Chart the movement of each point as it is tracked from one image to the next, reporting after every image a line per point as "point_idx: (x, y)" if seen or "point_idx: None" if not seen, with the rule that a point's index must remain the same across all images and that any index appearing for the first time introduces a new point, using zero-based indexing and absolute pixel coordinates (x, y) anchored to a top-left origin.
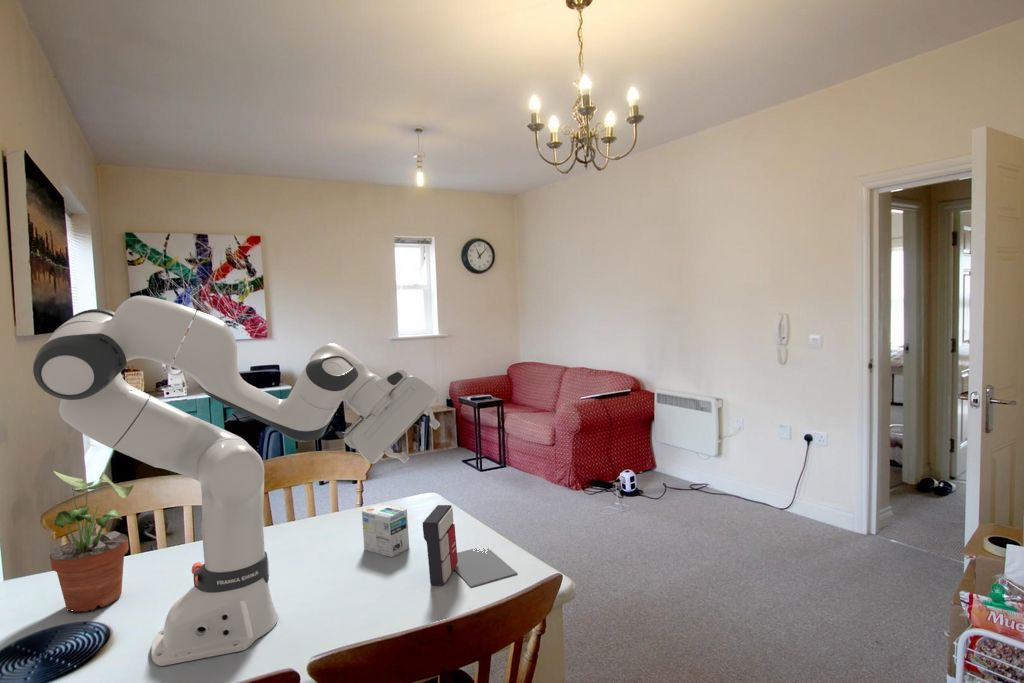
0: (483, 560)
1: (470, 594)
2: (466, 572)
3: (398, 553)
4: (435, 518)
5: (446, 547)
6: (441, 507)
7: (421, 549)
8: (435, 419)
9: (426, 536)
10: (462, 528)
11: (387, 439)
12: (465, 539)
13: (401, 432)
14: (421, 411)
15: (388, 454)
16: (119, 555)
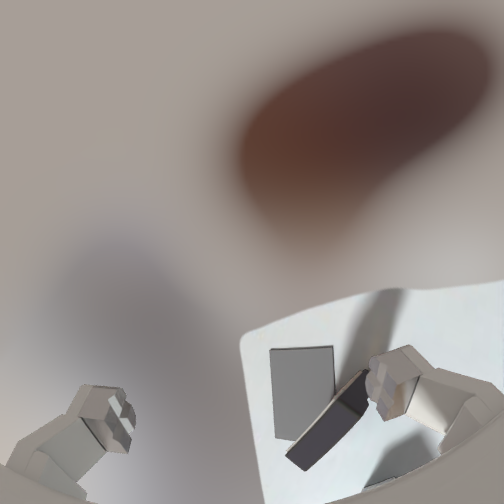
0: (292, 404)
1: (338, 329)
2: (324, 386)
3: (383, 481)
4: (332, 419)
5: (337, 393)
6: (303, 457)
7: (350, 478)
8: (71, 405)
9: (364, 402)
10: (280, 492)
11: (502, 452)
12: (289, 468)
13: (345, 498)
14: (44, 486)
15: (489, 383)
16: None
